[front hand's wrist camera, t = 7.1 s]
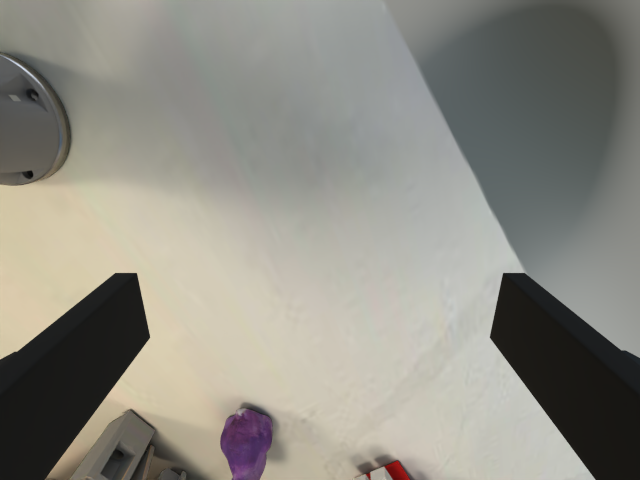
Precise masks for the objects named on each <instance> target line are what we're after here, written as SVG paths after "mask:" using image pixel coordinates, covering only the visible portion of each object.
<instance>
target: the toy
mask: <svg viewBox="0 0 640 480" xmlns="http://www.w3.org/2000/svg"><path fill="white" fill-rule="evenodd" d="M352 480H410V479H409V477H408V475H407V474H406V472H405V471H404V469H403V468H402V466H401V465H400V463H399V462H398V461H396V462H394V463H391V464H389V465H387V466H384V467H381V468H379V469H376V470H374V471H371V472H370V473H368V474H364V475H361V476H359V477H356V478H354V479H352Z"/></svg>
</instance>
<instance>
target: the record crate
mask: <svg viewBox="0 0 640 480" xmlns="http://www.w3.org/2000/svg"><path fill="white" fill-rule="evenodd" d="M124 413H127V414H125V415H123V416H121V417H120V418H118V419H116V420H114V421H113V422H111V423H109V425H108V426H107V427H106V429H105V430H104V432H103V433H102V434H101V436H100V437H99V439H98V440H97V441H96V443H95V444H94V446H93V447H92V448H91V450H90V451H89V453H88V454H87V455H86V457H85V458H84V460H83V461H82V462H81V464H80V465H79V467H78V468H77V469H76V471H75V472H74V474H73V475H72V476H71V478H70V479H69V480H146V478H147V475H148V471H149V467H150V464H151V460H152V457H153V453H154V449H155V447H154V446H152V445H150V447H149V449H148V450H147V451H146V450H145V449H146V447H147V445H148V444H149V442H150V440H151V438H152V436H153V434H154V432H155V430H154V429H152V428H151V427H150V426H149V425H147V424H146V423H145V422H144V421H142V420H141V419H140V418H139V417H137V416H136V415H135V414H134V413H133V412H132V411H130V410H129V411H127V412H124ZM186 474H187V473H186V472H184V471H182V473H181V475H178V474H177V473H175V472H174V471H172V470H171V469H169V468H167V469H165V470H163V471H162V472H161V473H160V476H159V478H158V480H186Z"/></svg>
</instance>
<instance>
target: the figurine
mask: <svg viewBox="0 0 640 480" xmlns="http://www.w3.org/2000/svg"><path fill="white" fill-rule="evenodd" d="M272 433H273V429H272V421H271V419H270V418H269V417H268V416H266V415H262V414H260V413H258V412H255V411H253V410H250V409H247V408H241V409H238V410H237V411H236V414H235V415H234V416H232V417H229V418H228V419H227V420H226V423H225V427H224V430H223V432H222V435H221V440H220V445H221V450H222V452H223V453H224V455H225V456H226V458H227V460H228V463H229V466H230V469H231V472H232V475H233V478H232V480H260V477H261V475H262V473H263V471H264V468H265V465H266V452H267V451H268V450H269V448H270V446H271V442H272Z"/></svg>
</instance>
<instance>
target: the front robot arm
mask: <svg viewBox="0 0 640 480" xmlns="http://www.w3.org/2000/svg"><path fill="white" fill-rule="evenodd" d="M69 145H70V129H69V123H68V119H67V115H66V112H65V110H64V107H63V105H62V103H61V101H60V99H59V98H58V96H57V94H56V93H55V91H54V90H53V89H52V87H51V86H50V85H49V84H48V82H47V81H46V80H45V79H44V78H43V77H42V76H41V75H40V74H39V73H38V72H36V71H35V70H34V69H33V68H31V67H30V66H29V65H27V64H25V63H24V62H22V61H20V60H18V59H17V58H15V57H12V56H10V55H7V54H4V53H0V184H1V185H24V184H29V183H33V182H37V181H40V180H43V179H45V178H47V177H49V176H51V175H52V174H54V173H55V172H56V171H57V170H58V169H59V168H60V167H61V165H62V164H63V162H64V160H65V159H66V156H67V154H68V150H69ZM149 338H150V334H149V330H148V325H147V320H146V315H145V310H144V305H143V301H142V296H141V291H140V286H139V281H138V276H137V273H115V274H114V275H112V276H111V277H110V278H109V279H107V280H106V281H105V282H104V283H102V284H101V285H100V286H99V287H97V288H96V289H95V290H94V291H92V292H91V293H90V294H89V295H88V296H86V297H85V298H84V299H83V300H81V301H80V302H79V303H78V304H76V305H75V306H74V307H73V308H71V309H70V310H69V311H68V312H66V313H65V314H64V315H63V316H61V317H60V318H59V319H58V320H56V321H55V322H54V323H53V324H51V325H50V326H49V327H48V328H46V329H45V330H44V331H43V332H41V333H40V334H39V335H38V336H36V337H35V338H34V339H33V340H31V341H30V342H29V343H28V344H26V345H25V346H24V347H23V348H21V349H20V350H19V351H18V352H14V353H12V354H10V355H8V356H6V357H4V358H2V359H1V360H0V480H44V479H45V478H46V477H47V475H48V474H49V473H50V471H51V470H52V469H53V467H54V466H55V465H56V463H57V462H58V461H59V459H60V458H61V457H62V455H63V454H64V453H65V451H66V450H67V449H68V447H69V446H70V445H71V443H72V442H73V440H74V439H75V438H76V436H77V435H78V434H79V432H80V431H81V430H82V428H83V427H84V426H85V424H86V423H87V422H88V420H89V419H90V418H91V416H92V415H93V414H94V412H95V411H96V410H97V408H98V407H99V406H100V404H101V403H102V401H103V400H104V399H105V397H106V396H107V395H108V393H109V392H110V391H111V389H112V388H113V387H114V385H115V384H116V383H117V381H118V380H119V379H120V377H121V376H122V375H123V373H124V372H125V371H126V369H127V368H128V367H129V365H130V364H131V363H132V361H133V360H134V358H135V357H136V356H137V354H138V353H139V352H140V350H141V349H142V348H143V346H144V345H145V344H146V342H147V341H148V340H149ZM490 338H491V340H492V341H493V342H494V344H495V345H496V346H497V348H498V349H499V350H500V352H501V353H502V354H503V356H504V357H505V358H506V360H507V361H508V363H509V364H510V365H511V367H512V368H513V369H514V371H515V372H516V373H517V375H518V376H519V377H520V379H521V380H522V381H523V383H524V384H525V385H526V387H527V388H528V389H529V391H530V392H531V393H532V395H533V396H534V397H535V399H536V400H537V401H538V403H539V404H540V406H541V407H542V408H543V410H544V411H545V412H546V414H547V415H548V416H549V418H550V419H551V420H552V422H553V423H554V424H555V426H556V427H557V428H558V430H559V431H560V432H561V434H562V435H563V436H564V438H565V439H566V440H567V442H568V443H569V445H570V446H571V447H572V449H573V450H574V451H575V453H576V454H577V455H578V457H579V458H580V459H581V461H582V462H583V463H584V465H585V466H586V467H587V469H588V470H589V471H590V473H591V474H592V475H593V477H594V478H595V479H596V480H640V358H639V357H637V356H635V355H633V354H631V353H629V352H627V351H621V350H620V349H619V348H617V347H616V346H615V345H614V344H612V343H611V342H610V341H609V340H607V339H606V338H605V337H604V336H602V335H601V334H600V333H599V332H597V331H596V330H595V329H594V328H592V327H591V326H590V325H589V324H587V323H586V322H585V321H584V320H582V319H581V318H580V317H579V316H577V315H576V314H575V313H574V312H572V311H571V310H570V309H569V308H567V307H566V306H565V305H564V304H562V303H561V302H560V301H559V300H557V299H556V298H555V297H554V296H552V295H551V294H550V293H549V292H548V291H546V290H545V289H544V288H543V287H541V286H540V285H539V284H537V283H536V282H535V281H534V280H533V279H531V278H530V277H529V276H528V275H526V274H525V273H503V276H502V281H501V286H500V291H499V296H498V301H497V305H496V310H495V315H494V320H493V325H492V330H491V334H490Z"/></svg>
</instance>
